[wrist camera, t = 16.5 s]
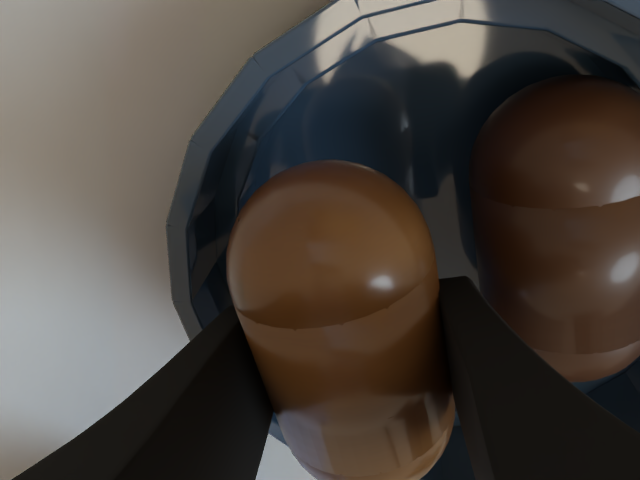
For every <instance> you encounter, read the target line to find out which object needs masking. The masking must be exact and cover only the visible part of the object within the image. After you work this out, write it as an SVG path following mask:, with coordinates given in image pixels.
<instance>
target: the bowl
mask: <svg viewBox="0 0 640 480" xmlns="http://www.w3.org/2000/svg"><path fill="white" fill-rule="evenodd" d="M570 74H578V75H595V76H601V77H604V78H607V79H611V80H614V81H617V82H620V83H622V84H624V85H626V86H628V87H629V88H631V89H633V90H634V91H636V92H638V93H640V0H333V1H331V2H330V3H328V4H327V5H325V6H324V7H322V8H321V9H319V10H318V11H316V12H315V13H313V14H312V15H310V16H309V17H307V18H306V19H304V20H303V21H301V22H300V23H298V24H297V25H295V26H294V27H292V28H291V29H289V30H288V31H286V32H285V33H284V34H282V35H281V36H279V37H278V38H276V39H275V40H273V41H272V42H270V43H269V44H267V45H266V46H264V47H263V48H261V49H260V50H258V51H257V52H255V53H254V54H253V56H252V57H250V58H249V59H248V60H247V62H246V63H245V64H244V66H243V67H242V68H241V70H240V71H239V73H238V74H237V75H236V77H235V78H234V79H233V81H232V82H231V83H230V85H229V86H228V88H227V89H226V90H225V92H224V93H223V94H222V96H221V97H220V98H219V100H218V101H217V102H216V104H215V105H214V107H213V108H212V109H211V111H210V112H209V113H208V115H207V116H206V117H205V119H204V120H203V121H202V123H201V124H200V126H199V127H198V128H197V130H196V131H195V132H194V134H193V135H192V137H191V140H190V141H189V143H188V147H187V150H186V154H185V157H184V161H183V165H182V168H181V172H180V175H179V179H178V182H177V186H176V189H175V193H174V196H173V200H172V203H171V207H170V210H169V214H168V217H167V221H166V222H167V224H166V234H167V246H168V258H169V270H170V282H171V294H172V301H173V304H174V307H175V309H176V311H177V313H178V315H179V318H180V320H181V322H182V324H183V327H184V329H185V331H186V333H187V336H188V338H189V340H190V341H191V340H192V339H194V338H195V337H196V336H197V335H198V334H199V333H200V332H201V331H202V330H203V329H204V328H205V327H206V326H207V325H208V324H209V323H210V322H212V321H213V320H214V319H215V318H216V317H217V316H218V315H219V314H220V313H222V312H223V311H224V310H225V309H226V308H228V307H229V306H231V305H234V304H233V301H232V299H231V295H230V291H229V287H228V283H227V275H226V251H227V246H228V241H229V236H230V233H231V230H232V228H233V226H234V223H235V221H236V219H237V217H238V215H239V212H240V210H241V209H242V207H243V206H244V205H245V203H246V202H247V201H248V199H249V198H250V197H251V196H252V194H253V193H254V192H255V191H256V190H257V189H258V188H259V187H260V186H262V185H263V184H264V183H265V182H267V181H268V180H269V179H270V178H272V177H273V176H274V175H276V174H278V173H279V172H281V171H283V170H286V169H288V168H290V167H293V166H296V165H299V164H302V163H306V162H311V161H317V160H325V159H337V160H344V161H350V162H355V163H360V164H363V165H365V166H368V167H370V168H372V169H374V170H377V171H379V172H381V173H383V174H385V175H386V176H388V177H389V178H390V179H392V180H393V181H394V182H396V183H397V184H398V185H400V186H401V187H402V188H403V189H404V190H405V191H406V193H407V194H408V195H409V196H410V197H411V198H412V200H413V201H414V202H415V203H416V204H417V206H418V207H419V209H420V211H421V213H422V215H423V217H424V219H425V221H426V223H427V225H428V228H429V230H430V234H431V238H432V241H433V245H434V250H435V257H436V264H437V271H438V278H439V279H443V278H451V277H458V276H467V277H469V278H470V279H471V280H472V281H473V283H474V284H475V286H476V287H477V288H478V290H479V291H480V289H479V279H478V268H477V258H476V248H475V238H474V228H473V218H472V207H471V197H470V187H469V161H470V157H471V152H472V148H473V145H474V142H475V140H476V138H477V136H478V134H479V131H480V129H481V127H482V126H483V124H484V123H485V122H486V120H487V119H488V118H489V116H490V115H491V114H492V112H493V111H494V110H495V109H496V108H497V107H499V106H500V105H501V104H502V103H503V102H504V101H505V100H506V99H507V98H509V97H510V96H512V95H513V94H515V93H517V92H518V91H520V90H521V89H523V88H525V87H526V86H528V85H531V84H533V83H536V82H539V81H542V80H545V79H548V78H551V77H555V76H561V75H570ZM571 383H572V384H573V385H574V386H575V387H577V388H578V389H579V390H581V391H582V392H583V393H584V394H586V395H587V396H588V397H590V398H591V399H592V400H594V401H595V402H596V403H597V404H599V405H600V406H602V407H603V408H604V409H606V410H607V411H609V412H610V413H611V414H613V415H614V416H616V417H617V418H618V419H620V420H621V421H622V422H624V423H625V424H627V425H628V426H630V427H631V428H633V429H634V430H636V431H637V432H639V433H640V356H639V357H638V358H636V359H635V360H634V361H633V362H632V363H631V364H629V365H628V366H627V367H626V368H624V369H622V370H621V371H619V372H617V373H615V374H613V375H610V376H607V377H604V378H601V379H598V380H593V381H587V382H571ZM268 433H269V434H270V435H272V436H273V437H275V438H276V439H278V440H279V441H281V442H282V443H284V444H285V445H287V443H286V441H285V439H284V436H283V434H282V431H281V428H280V426H279V423H278V420H277V418H276V415H275V413H273V416H272V420H271V424H270V428H269V432H268ZM287 446H288V445H287ZM288 447H289V446H288ZM420 480H476V479H475V476H474V472H473V468H472V465H471V461H470V457H469V454H468V450H467V446H466V443H465V439H464V435H463V432H462V428H461V424H460V420H459V417H458V413H457V409H456V406H455V419H454V424H453V428H452V432H451V435H450V439H449V442H448V444H447V446H446V448H445V450H444V452H443V454H442V456H441V457H440V458H439V459H438V461H437V462H436V463H435V464H434V466H433V467H432V468H431V469H430V470H429V472H428V473H427V474H426V475H424V476H423V477H422V478H421V479H420Z"/></svg>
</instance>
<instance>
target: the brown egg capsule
mask: <svg viewBox="0 0 640 480" xmlns="http://www.w3.org/2000/svg"><path fill="white" fill-rule="evenodd" d="M226 275H227V283H228V287H229V291H230V295H231V299H232V301H233V304H234V307H235V310H236V312H237V315H238V318H239V320H240V323H241V325H242V328H243V331H244V333H245V336H246V339H247V341H248V344H249V347H250V349H251V352H252V355H253V357H254V360H255V362H256V365H257V368H258V370H259V373H260V376H261V378H262V381H263V384H264V386H265V389H266V391H267V394H268V397H269V399H270V402H271V405H272V407H273V410H274V413H275V415H276V418H277V420H278V423H279V426H280V428H281V431H282V434H283V436H284V439H285V441H286V443H287V445H288V446H289V448H290V450H291V452H292V454H293V455H294V456H295V458H296V459H297V460H298V462H299V463H300V464H301V466H302V467H304V468H305V469H306V470H307V471H308V472H309V473H310V474H311V475H312V476H313V477H315V478H316V479H317V480H420V479H421V478H422V477H423V476H424V475H426V474H427V473H428V472H429V470H430V469H431V468H432V467H433V466H434V464H435V463H436V462H437V461H438V459H439V458H440V457H441V456H442V454H443V452H444V450H445V448H446V446H447V444H448V442H449V439H450V435H451V432H452V428H453V424H454V419H455V402H454V398H453V392H452V385H451V378H450V371H449V364H448V357H447V350H446V343H445V337H444V330H443V323H442V316H441V309H440V302H439V295H438V292H439V289H440V288H439V278H438V271H437V264H436V257H435V250H434V245H433V241H432V238H431V234H430V230H429V228H428V225H427V223H426V221H425V219H424V217H423V215H422V213H421V211H420V209H419V207H418V206H417V204H416V203H415V202H414V201H413V200H412V198H411V197H410V196H409V195H408V194H407V193H406V191H405V190H404V189H403V188H402V187H401V186H400V185H398V184H397V183H396V182H394V181H393V180H392V179H390V178H389V177H388V176H386V175H385V174H383V173H381V172H379V171H377V170H374V169H372V168H370V167H368V166H365V165H363V164H360V163H355V162H350V161H344V160H337V159H325V160H317V161H311V162H306V163H302V164H299V165H296V166H293V167H290V168H288V169H286V170H283V171H281V172H279V173H278V174H276V175H274V176H273V177H272V178H270V179H269V180H268V181H267V182H265V183H264V184H263V185H262V186H260V187H259V188H258V189H257V190H256V191H255V192H254V193H253V194H252V196H251V197H250V198H249V199H248V201H247V202H246V203H245V205H244V206H243V207H242V209H241V210H240V212H239V215H238V217H237V219H236V221H235V223H234V226H233V228H232V230H231V233H230V236H229V241H228V246H227V251H226Z"/></svg>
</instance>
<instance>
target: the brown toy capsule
mask: <svg viewBox="0 0 640 480" xmlns="http://www.w3.org/2000/svg"><path fill="white" fill-rule="evenodd" d="M469 187H470V197H471V207H472V218H473V228H474V238H475V248H476V258H477V268H478V279H479V289H480V292H481V294H482V295H483V296H484V298H485V299H486V300H487V301H488V303H489V304H490V305H491V306H492V307H493V308H494V310H495V311H496V312H497V313H498V314H499V315H500V316H501V318H502V319H503V320H504V321H505V322H506V323H507V324H508V325H509V326H510V327H511V328H512V329H513V330H514V331H515V332H516V333H517V334H518V335H519V336H520V337H521V338H522V339H523V340H524V341H525V342H526V343H527V344H528V345H529V346H530V347H531V348H532V349H533V350H534V351H535V352H536V353H537V354H538V355H539V356H541V357H542V358H543V359H544V360H545V361H546V362H547V363H548V364H549V365H550V366H552V367H553V368H554V369H555V370H556V371H557V372H559V373H560V374H561V375H562V376H563V377H564V378H566V379H567V380H568V381H569V382H587V381H593V380H598V379H601V378H604V377H607V376H610V375H613V374H615V373H617V372H619V371H621V370H622V369H624V368H626V367H627V366H628V365H629V364H631V363H632V362H633V361H634V360H635V359H636V358H638V357H639V356H640V93H638V92H636V91H634V90H633V89H631V88H629V87H628V86H626V85H624V84H622V83H620V82H617V81H614V80H611V79H607V78H604V77H601V76H595V75H578V74H570V75H561V76H555V77H551V78H548V79H545V80H542V81H539V82H536V83H533V84H531V85H528V86H526V87H525V88H523V89H521V90H520V91H518V92H517V93H515V94H513V95H512V96H510V97H509V98H507V99H506V100H505V101H504V102H503V103H502V104H501V105H500V106H499V107H497V108H496V109H495V110H494V111H493V112H492V114H491V115H490V116H489V118H488V119H487V120H486V122H485V123H484V124H483V126H482V127H481V129H480V131H479V134H478V136H477V138H476V140H475V142H474V145H473V148H472V152H471V157H470V161H469Z"/></svg>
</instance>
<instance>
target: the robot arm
mask: <svg viewBox="0 0 640 480" xmlns="http://www.w3.org/2000/svg"><path fill="white" fill-rule="evenodd" d="M439 288H440V289H439V292H438V295H439V302H440V309H441V316H442V323H443V330H444V337H445V343H446V350H447V357H448V364H449V371H450V378H451V385H452V392H453V398H454V402H455V406H456V409H457V413H458V417H459V420H460V424H461V428H462V432H463V435H464V439H465V443H466V446H467V450H468V454H469V457H470V461H471V465H472V468H473V472H474V476H475V479H476V480H640V433H639V432H637V431H636V430H634V429H633V428H631V427H630V426H628V425H627V424H625V423H624V422H622V421H621V420H620V419H618V418H617V417H616V416H614V415H613V414H611V413H610V412H609V411H607V410H606V409H604V408H603V407H602V406H600V405H599V404H597V403H596V402H595V401H594V400H592V399H591V398H590V397H588V396H587V395H586V394H584V393H583V392H582V391H581V390H579V389H578V388H577V387H575V386H574V385H573V384H572V383H571V382H569V381H568V380H567V379H566V378H564V377H563V376H562V375H561V374H560V373H559V372H557V371H556V370H555V369H554V368H553V367H552V366H550V365H549V364H548V363H547V362H546V361H545V360H544V359H543V358H542V357H541V356H539V355H538V354H537V353H536V352H535V351H534V350H533V349H532V348H531V347H530V346H529V345H528V344H527V343H526V342H525V341H524V340H523V339H522V338H521V337H520V336H519V335H518V334H517V333H516V332H515V331H514V330H513V329H512V328H511V327H510V326H509V325H508V324H507V323H506V322H505V321H504V320H503V319H502V318H501V316H500V315H499V314H498V313H497V312H496V311H495V310H494V308H493V307H492V306H491V305H490V304H489V303H488V301H487V300H486V299H485V298H484V296H483V295H482V294H481V292H480V291H479V290H478V288H477V287H476V286H475V284H474V283H473V281H472V280H471V279H470V278H469V277H467V276H458V277H451V278H443V279H439ZM273 413H274V410H273V407H272V405H271V402H270V399H269V397H268V394H267V391H266V389H265V386H264V384H263V381H262V378H261V376H260V373H259V370H258V368H257V365H256V362H255V360H254V357H253V355H252V352H251V349H250V347H249V344H248V341H247V339H246V336H245V333H244V331H243V328H242V325H241V323H240V320H239V318H238V315H237V312H236V310H235V307H234V305H231V306H229V307H228V308H226V309H225V310H224V311H223V312H222V313H220V314H219V315H218V316H217V317H216V318H215V319H214V320H213V321H212V322H210V323H209V324H208V325H207V326H206V327H205V328H204V329H203V330H202V331H201V332H200V333H199V334H198V335H197V336H196V337H195V338H194V339H192V340H191V341H190V342H189V343H188V344H187V345H186V346H185V347H184V348H183V349H182V350H181V351H180V352H179V353H177V354H176V355H175V356H174V357H173V358H172V359H171V360H170V361H169V362H168V363H167V364H166V365H165V366H163V367H162V368H161V369H160V370H159V371H158V372H157V373H155V374H154V375H153V376H152V377H151V378H150V379H149V380H147V381H146V382H145V383H144V384H143V385H142V386H140V387H139V388H138V389H137V390H136V391H135V392H134V393H132V394H131V395H130V396H129V397H128V398H127V399H125V400H124V401H123V402H122V403H120V404H119V405H118V406H117V407H115V408H114V409H113V410H112V411H110V412H109V413H108V414H107V415H105V416H104V417H103V418H101V419H100V420H99V421H97V422H96V423H94V424H93V425H92V426H90V427H89V428H88V429H86V430H85V431H84V432H82V433H81V434H80V435H78V436H77V437H75V438H74V439H73V440H71V441H70V442H68V443H67V444H65V445H64V446H62V447H61V448H59V449H58V450H56V451H55V452H53V453H52V454H50V455H48V456H47V457H45V458H44V459H42V460H41V461H39V462H38V463H36V464H35V465H33V466H32V467H30V468H29V469H27V470H26V471H24V472H23V473H21V474H20V475H18V476H16V477H15V478H13V479H11V480H255V479H256V475H257V472H258V468H259V464H260V461H261V457H262V454H263V450H264V447H265V443H266V439H267V435H268V432H269V428H270V424H271V420H272V416H273Z"/></svg>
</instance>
